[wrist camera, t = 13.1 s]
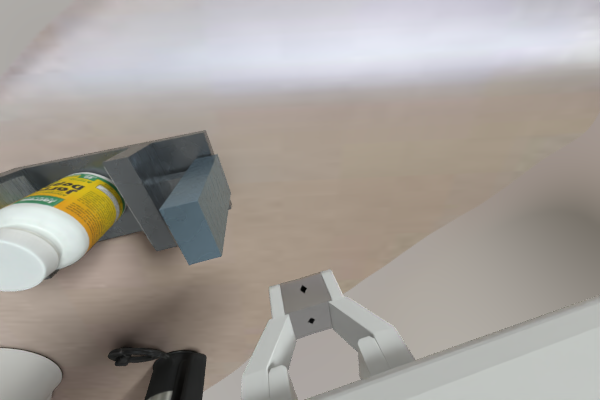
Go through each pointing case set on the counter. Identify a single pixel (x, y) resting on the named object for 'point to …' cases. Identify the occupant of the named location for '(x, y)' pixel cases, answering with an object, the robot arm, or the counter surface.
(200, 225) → the sliding jaw
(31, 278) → the supplement bottle
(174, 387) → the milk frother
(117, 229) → the vise base
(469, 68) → the counter surface
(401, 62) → the counter surface
